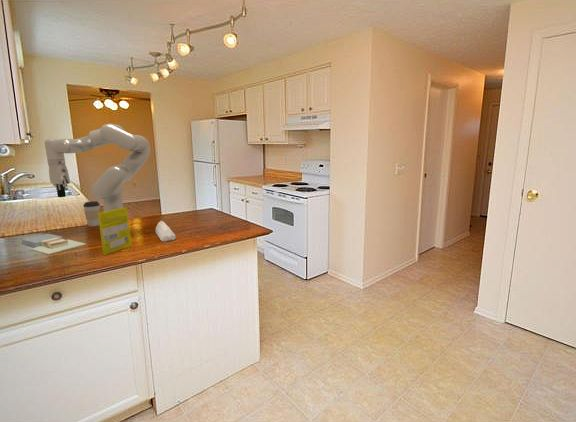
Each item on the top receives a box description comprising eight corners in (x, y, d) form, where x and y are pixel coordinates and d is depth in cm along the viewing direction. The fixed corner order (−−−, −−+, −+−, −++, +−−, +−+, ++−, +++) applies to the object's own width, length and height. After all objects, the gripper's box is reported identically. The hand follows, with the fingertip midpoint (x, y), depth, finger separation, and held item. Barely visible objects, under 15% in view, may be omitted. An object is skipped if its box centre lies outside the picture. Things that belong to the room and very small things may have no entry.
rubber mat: (86, 244, 157) (86, 243, 157) (48, 254, 142) (48, 253, 142) (68, 240, 164) (68, 239, 164) (30, 249, 149) (30, 248, 149)
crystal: (180, 233, 164) (170, 223, 184) (167, 228, 160) (159, 219, 180) (173, 246, 163) (165, 235, 183) (160, 241, 159) (153, 230, 179)
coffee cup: (85, 227, 190) (82, 203, 187) (85, 224, 198) (82, 201, 195) (102, 225, 195) (99, 202, 192) (102, 222, 203) (99, 199, 199)
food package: (130, 245, 155) (126, 206, 151) (131, 245, 155) (127, 207, 151) (102, 255, 141) (96, 213, 137) (104, 255, 141) (98, 213, 137)
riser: (63, 241, 162) (62, 236, 161) (36, 247, 151) (35, 243, 151) (48, 237, 168) (48, 233, 167) (22, 243, 158) (21, 239, 157)
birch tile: (68, 244, 155) (67, 240, 154) (52, 248, 149) (51, 244, 148) (57, 242, 159) (56, 237, 159) (41, 245, 153) (40, 241, 153)
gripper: (72, 162, 164) (77, 196, 168) (55, 162, 170) (60, 195, 174) (57, 163, 158) (63, 198, 161) (40, 163, 164) (46, 197, 167)
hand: (61, 196), depth 168 cm, fingers closed
